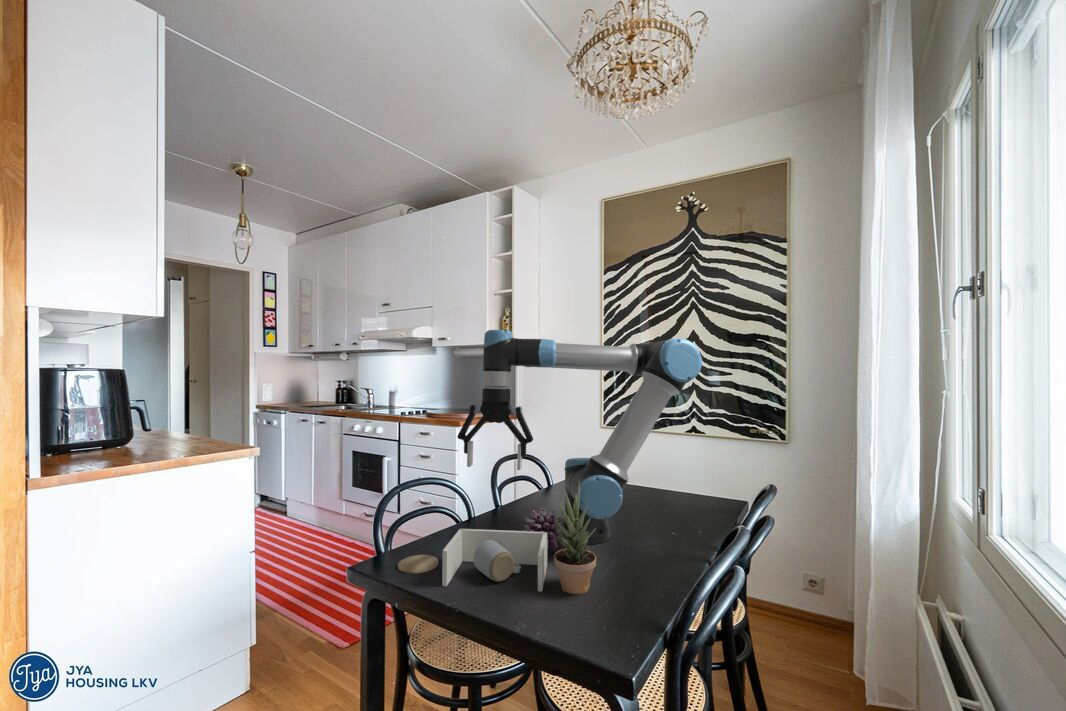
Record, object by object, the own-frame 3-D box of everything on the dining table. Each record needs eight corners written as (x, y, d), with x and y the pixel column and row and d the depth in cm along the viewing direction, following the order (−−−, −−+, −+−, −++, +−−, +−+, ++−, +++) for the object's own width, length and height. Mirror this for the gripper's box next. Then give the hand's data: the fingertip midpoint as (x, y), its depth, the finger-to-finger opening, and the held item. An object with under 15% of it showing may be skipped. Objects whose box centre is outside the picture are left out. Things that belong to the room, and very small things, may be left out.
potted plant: (566, 602, 100) (566, 485, 100) (547, 583, 108) (547, 476, 109) (606, 593, 104) (605, 481, 104) (584, 575, 112) (584, 472, 113)
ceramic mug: (489, 587, 106) (490, 553, 106) (472, 574, 113) (473, 542, 113) (527, 576, 112) (528, 544, 113) (509, 564, 119) (509, 534, 119)
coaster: (443, 558, 123) (443, 555, 123) (431, 574, 113) (431, 572, 113) (406, 556, 124) (406, 554, 124) (391, 572, 114) (391, 570, 114)
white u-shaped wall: (547, 563, 119) (547, 532, 119) (542, 591, 104) (542, 555, 104) (459, 559, 122) (459, 528, 122) (442, 586, 107) (442, 550, 107)
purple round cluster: (574, 552, 127) (574, 507, 127) (544, 565, 118) (544, 517, 119) (543, 541, 135) (543, 499, 135) (513, 552, 127) (513, 508, 127)
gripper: (544, 388, 126) (542, 467, 126) (456, 385, 130) (454, 462, 130) (540, 389, 119) (538, 473, 118) (447, 386, 123) (444, 467, 122)
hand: (494, 467), depth 124 cm, fingers open, 13 cm apart
